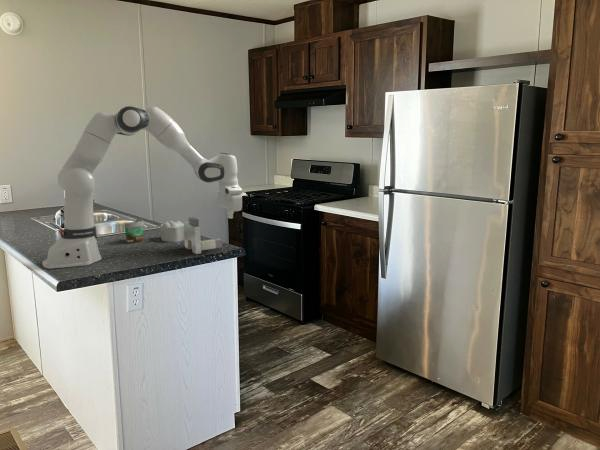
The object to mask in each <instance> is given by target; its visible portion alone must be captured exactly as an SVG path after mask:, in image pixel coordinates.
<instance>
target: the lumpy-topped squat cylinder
mask: <svg viewBox="0 0 600 450" xmlns="http://www.w3.org/2000/svg"><path fill="white" fill-rule="evenodd" d="M160 240H161V241H163V242H168V243H177V242H181V241H185V240H184V222H181V221H180V220H176V221H172V220H169V221H164V222H162V224H160Z"/></svg>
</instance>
